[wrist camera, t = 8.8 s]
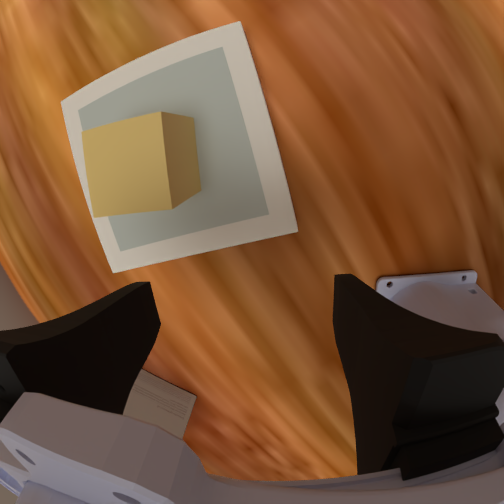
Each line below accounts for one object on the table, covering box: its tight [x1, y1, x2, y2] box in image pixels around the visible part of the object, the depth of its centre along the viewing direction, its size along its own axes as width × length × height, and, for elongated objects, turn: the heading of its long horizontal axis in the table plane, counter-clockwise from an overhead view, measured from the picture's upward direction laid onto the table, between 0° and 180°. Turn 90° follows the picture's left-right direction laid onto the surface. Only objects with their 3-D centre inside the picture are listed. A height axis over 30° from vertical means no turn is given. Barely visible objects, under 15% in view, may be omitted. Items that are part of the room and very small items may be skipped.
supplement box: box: [123, 369, 197, 439], centre depth 23 cm, size 7×7×13 cm
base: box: [61, 21, 298, 273], centre depth 19 cm, size 14×14×2 cm
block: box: [81, 111, 201, 218], centre depth 16 cm, size 5×5×5 cm
